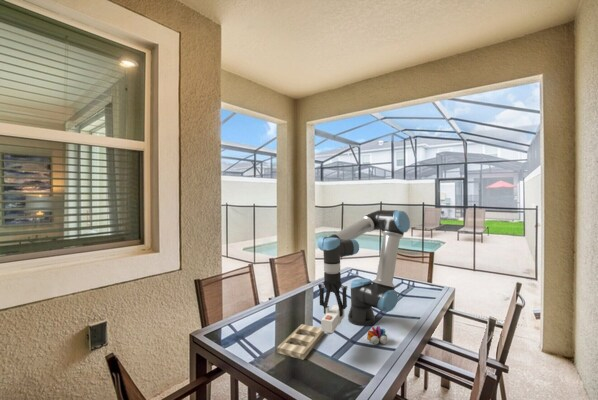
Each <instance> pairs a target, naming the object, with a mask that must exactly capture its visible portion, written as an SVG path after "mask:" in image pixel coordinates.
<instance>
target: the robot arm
mask: <svg viewBox="0 0 598 400" xmlns="http://www.w3.org/2000/svg"><path fill="white" fill-rule="evenodd" d="M410 227H411V220H410V218H409V216H408V214H407V212H405V211H403V210H397V209H395V210H394V209H393V210H392V209H391V210H390V209H389V210H388V209H387V210H385V209H380V210H379V209H378V210H375V211H372V212H370V213H368V214H366V215H364V216H363V217H361V219H360V220H359V221H357V222H356V221H355V222H353V224H350V225H349V226H347V227H344V228H343V229H341V230H339V231H336V232H335V233H334V234H331V235H329V236H320V237H319V239H318V242H317V246H318V249H319V250H320V251H323V271H324V273H323V278H324V282H323V283H322V282H320V283H319V284H318V289H319V306H321V307H323V313H324V315H326V314H327V312H328V311H329V310H330V306H329V299H330V296H331V293H333V294H334V296H335V298H336V302H337V305H338V307H339V309H338V310H337V311H338V324H339V325H340V324H341V323H342V320H341V317H342V316H343V309H344V310H346V309H347V307H348V300H347V296H348V295H347V290H348V285H343V283H342V280H341V279H342V278H341V258H344V257H345V258H346V257H350V256H354V255H356V254H358V253H359V252H360V244H359V242H358V241H357V240H356V239H357V238H358V237H360V236H362V235H365V234H366V233H371V232H373V231H377V230H378V231H381V233H382V235H383V238H382V244H381V250H380V255H379V261H378V266H377V272H376V277H375V279H374V280H371V279H369V278H358V279H357V278H356V279H353V280H352V281H351V282H350V308H349V311H348V315H347V320H348V322H349V323H351V324H353V325H355V326H360V327H362V326H363V327H365V326H372V325H374V324H375V323H376V315H375V313H374V309H377V310H379V311H382V312H384V313H385V312H386V313H387V312H391V311H393V309H394V308H395V307H396V306H397V303H398V301H399V296H398V295H399V294H398V292H397V291H396V290H395V284H394V277H395V270H396V264H397V259H398V258H397V257H398V254H399V253H398V252H399V246H400V240H401V238H403V237H404V233H407V232H408V231H409V230H410ZM324 289H326V291H325V290H324ZM340 289H341V292H342V293H340ZM324 292H325V294H324ZM341 295H342V298H341Z"/></svg>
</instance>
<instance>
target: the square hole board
mask: <svg viewBox="0 0 598 400" xmlns="http://www.w3.org/2000/svg"><path fill="white" fill-rule="evenodd" d="M325 333H326V332H324V331H321V327H317V326H312V325H308V324H303V323H302V324H300V325H299V326H298V327H297V328H296V329H295V330H293V332H292V333H290V335H288V336H287V338H285V339H284V340H283V341H282V342H281V343H280V344H279V345H278V346H276V353H277V354H281V355H284V356H287V357H291V358H296V359H299V360H305V359H306V357H307V356H308V355H309V353H310V352H311V351H312V350H313V349H314V348H315V346H317V344H318V342H319V341H320V340H321V339H322V338H323V337H324V335H325Z"/></svg>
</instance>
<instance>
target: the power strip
mask: <svg viewBox="0 0 598 400" xmlns="http://www.w3.org/2000/svg"><path fill="white" fill-rule="evenodd" d="M338 309H339V307H338V304H333V306H332V307H331V308H329V311H328V312H327V314H324V316H323V317H322V318H321V320H320V325H321V326H320V328H321V331H324V332H325V333H327V334H328V335H333V334H334V332H335V330H336V329H337V328H338V326H339V325H340V324H338V311H337V310H338ZM344 318H345V309H343V316H342V317H341V321H343V319H344Z"/></svg>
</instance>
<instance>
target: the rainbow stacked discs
mask: <svg viewBox="0 0 598 400" xmlns="http://www.w3.org/2000/svg"><path fill="white" fill-rule="evenodd" d="M366 336H367V341H370V343H371V344H372V345H374V346H377V345H379V343H380V344H382V345H386V344H387V343H388V335H387V334H386V330H385V329H384V328H381V327H380V326H379V325H377V326H376V328H375V327H374V326H372V327H371V330H368V331H367V334H366Z"/></svg>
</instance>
